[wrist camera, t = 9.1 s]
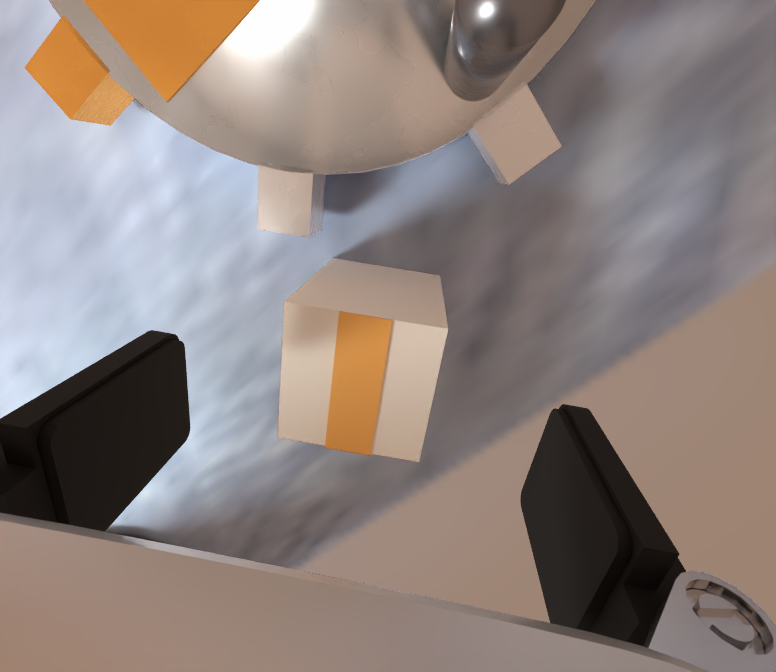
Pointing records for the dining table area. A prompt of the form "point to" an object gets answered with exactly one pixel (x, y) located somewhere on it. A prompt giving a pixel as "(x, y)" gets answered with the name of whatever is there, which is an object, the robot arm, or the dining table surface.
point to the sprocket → (315, 82)
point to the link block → (362, 359)
